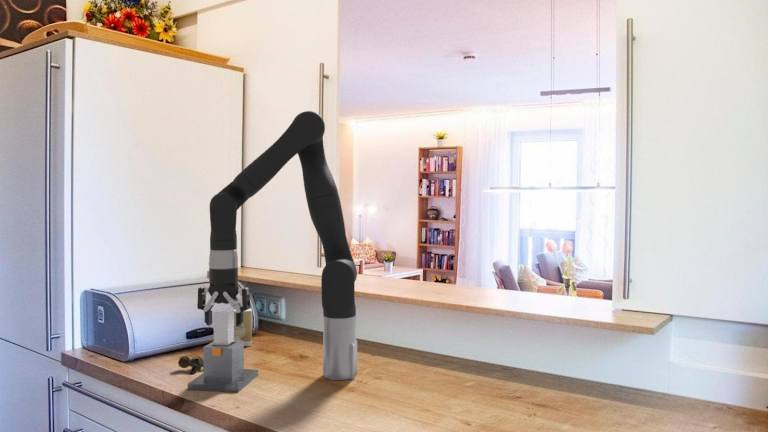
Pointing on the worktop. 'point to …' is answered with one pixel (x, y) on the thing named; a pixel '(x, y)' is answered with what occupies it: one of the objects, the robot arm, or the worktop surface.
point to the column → (224, 327)
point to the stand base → (223, 369)
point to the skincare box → (244, 328)
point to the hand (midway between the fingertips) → (223, 325)
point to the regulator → (191, 363)
